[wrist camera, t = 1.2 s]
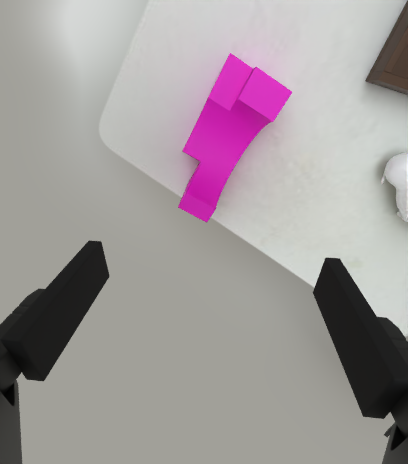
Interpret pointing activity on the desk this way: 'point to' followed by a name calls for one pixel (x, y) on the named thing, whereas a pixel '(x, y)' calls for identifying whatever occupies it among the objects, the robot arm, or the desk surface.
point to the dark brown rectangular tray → (393, 58)
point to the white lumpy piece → (399, 181)
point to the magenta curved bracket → (228, 130)
